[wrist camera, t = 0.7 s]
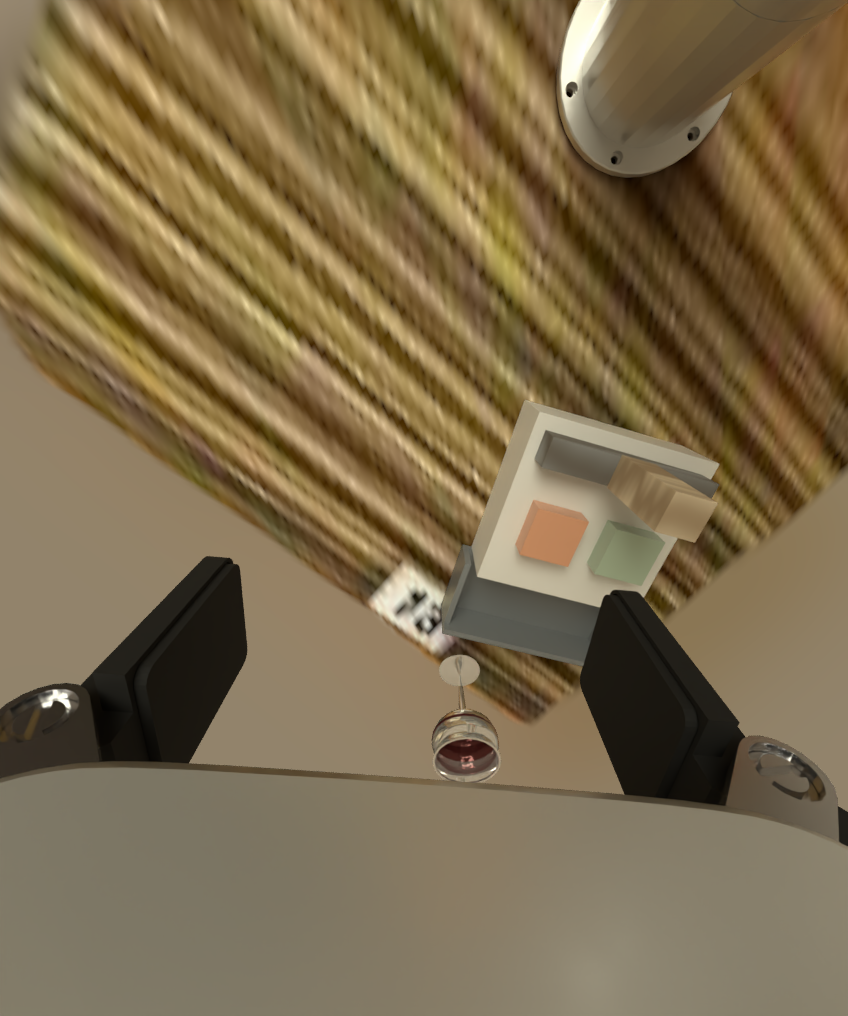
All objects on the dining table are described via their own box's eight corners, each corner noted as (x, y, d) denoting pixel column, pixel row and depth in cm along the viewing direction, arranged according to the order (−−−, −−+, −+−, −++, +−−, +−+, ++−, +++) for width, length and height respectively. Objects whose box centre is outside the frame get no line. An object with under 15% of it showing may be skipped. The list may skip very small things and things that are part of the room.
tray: (462, 544, 46) (466, 568, 42) (618, 584, 48) (638, 611, 43) (441, 604, 49) (442, 633, 45) (588, 640, 51) (604, 671, 46)
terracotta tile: (533, 499, 38) (538, 508, 36) (581, 512, 38) (589, 522, 36) (515, 543, 39) (519, 554, 38) (561, 555, 40) (568, 567, 38)
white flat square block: (524, 399, 40) (539, 411, 35) (681, 445, 42) (719, 463, 36) (471, 546, 46) (477, 576, 41) (610, 582, 48) (633, 615, 42)
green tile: (607, 519, 38) (616, 529, 37) (654, 532, 39) (665, 542, 37) (586, 562, 40) (594, 573, 38) (631, 574, 40) (641, 586, 39)
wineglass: (477, 696, 55) (488, 791, 44) (425, 685, 54) (423, 778, 43) (494, 655, 52) (512, 745, 41) (440, 643, 51) (443, 730, 40)
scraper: (546, 428, 35) (589, 467, 26) (702, 472, 37) (799, 526, 27) (533, 460, 36) (570, 508, 27) (685, 502, 38) (773, 564, 28)
